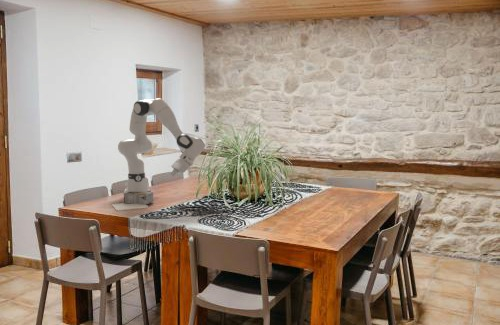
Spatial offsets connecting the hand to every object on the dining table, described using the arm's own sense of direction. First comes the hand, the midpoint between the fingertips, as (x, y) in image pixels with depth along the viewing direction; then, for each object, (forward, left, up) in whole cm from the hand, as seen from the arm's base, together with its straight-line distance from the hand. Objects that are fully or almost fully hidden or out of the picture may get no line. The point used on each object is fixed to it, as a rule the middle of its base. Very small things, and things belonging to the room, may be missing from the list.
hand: (171, 175), depth 302 cm
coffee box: (0, -14, -14) cm, 20 cm away
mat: (+1, -28, -17) cm, 33 cm away
